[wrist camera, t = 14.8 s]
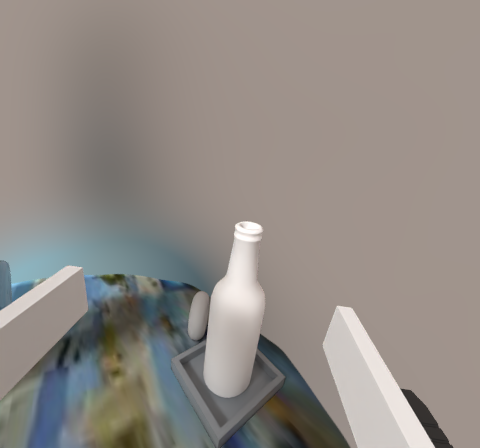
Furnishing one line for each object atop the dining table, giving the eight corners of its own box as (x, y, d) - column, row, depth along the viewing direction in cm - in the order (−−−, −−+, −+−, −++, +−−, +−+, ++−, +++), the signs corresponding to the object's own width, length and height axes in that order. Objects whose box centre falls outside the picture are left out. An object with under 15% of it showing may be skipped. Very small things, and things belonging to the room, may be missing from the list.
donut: (194, 315, 55) (197, 281, 52) (208, 317, 55) (212, 283, 52) (184, 350, 46) (187, 312, 42) (201, 352, 46) (205, 314, 42)
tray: (171, 368, 42) (171, 358, 41) (232, 332, 51) (233, 324, 51) (217, 450, 32) (219, 440, 31) (282, 386, 41) (285, 376, 40)
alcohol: (245, 352, 46) (270, 217, 36) (255, 398, 38) (290, 240, 28) (202, 355, 44) (216, 213, 34) (203, 403, 36) (221, 237, 26)
